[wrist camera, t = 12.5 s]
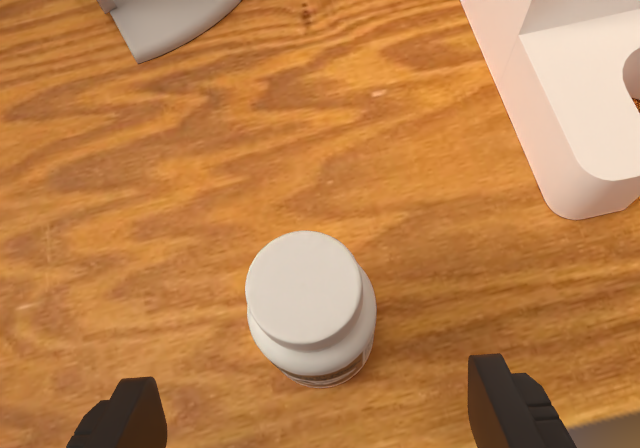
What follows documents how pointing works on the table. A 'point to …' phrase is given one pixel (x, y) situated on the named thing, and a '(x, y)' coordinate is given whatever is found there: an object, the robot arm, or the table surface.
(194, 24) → the ornament
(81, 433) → the robot arm
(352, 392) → the table surface
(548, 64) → the bracket
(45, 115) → the table surface
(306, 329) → the pill bottle
